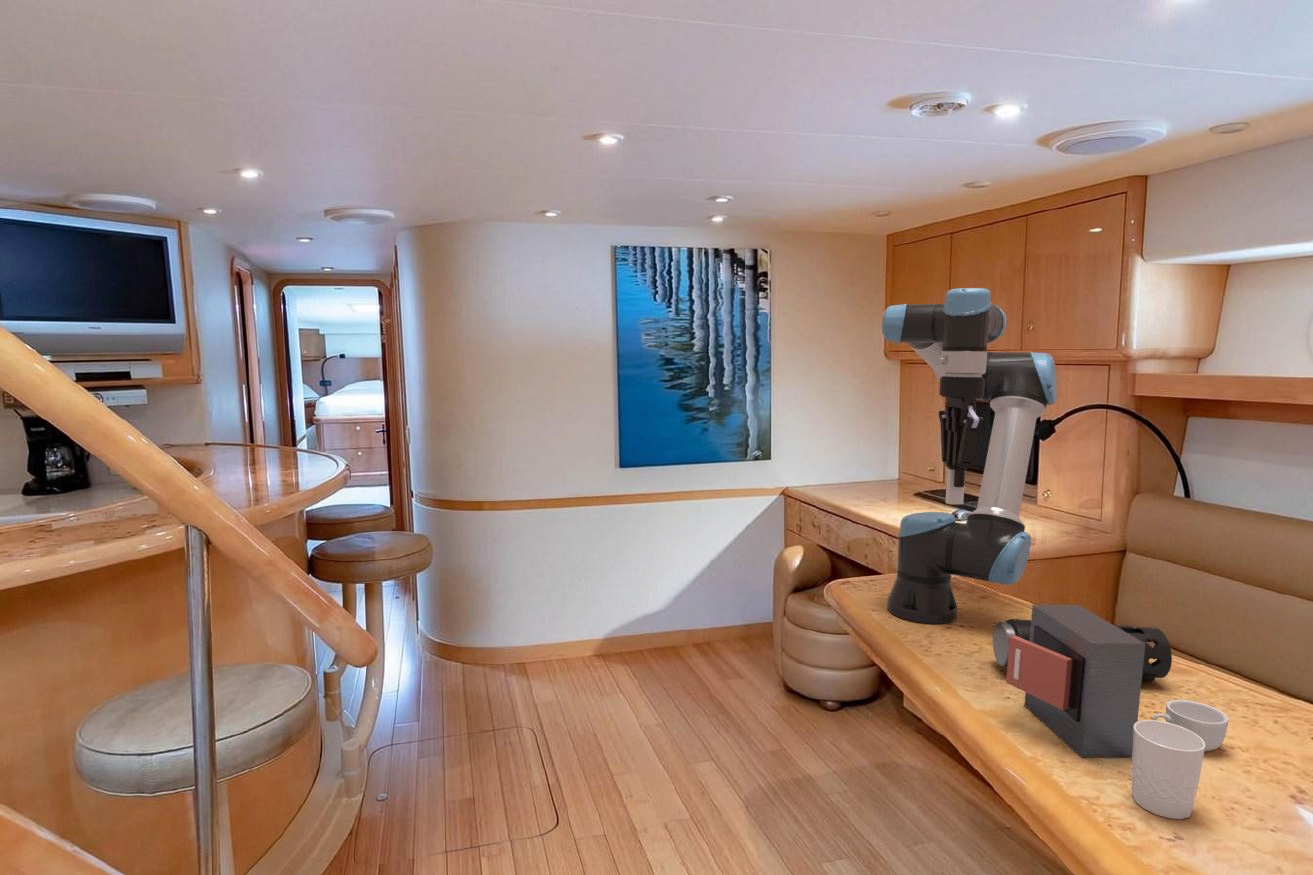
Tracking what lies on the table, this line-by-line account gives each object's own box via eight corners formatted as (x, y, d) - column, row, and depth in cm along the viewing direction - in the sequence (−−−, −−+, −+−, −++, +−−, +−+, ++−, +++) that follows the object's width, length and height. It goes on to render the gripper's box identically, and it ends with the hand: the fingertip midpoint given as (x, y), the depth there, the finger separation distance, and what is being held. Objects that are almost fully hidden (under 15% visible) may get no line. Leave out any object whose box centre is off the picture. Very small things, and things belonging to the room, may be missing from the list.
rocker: (1005, 682, 121) (1008, 636, 120) (1011, 681, 121) (1014, 635, 120) (1061, 710, 112) (1066, 660, 111) (1067, 708, 112) (1072, 658, 111)
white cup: (1113, 787, 102) (1119, 720, 101) (1165, 785, 103) (1173, 718, 102) (1156, 824, 94) (1163, 752, 93) (1212, 821, 95) (1221, 749, 94)
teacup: (1206, 733, 117) (1209, 701, 116) (1236, 759, 110) (1240, 726, 109) (1138, 727, 119) (1141, 696, 118) (1163, 753, 111) (1167, 720, 110)
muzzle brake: (1169, 693, 131) (1175, 638, 129) (1006, 683, 134) (1010, 629, 132) (1141, 670, 140) (1146, 618, 139) (989, 661, 143) (992, 610, 142)
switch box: (1022, 705, 125) (1030, 605, 123) (1069, 705, 126) (1078, 604, 123) (1080, 758, 109) (1090, 643, 107) (1133, 757, 110) (1145, 643, 107)
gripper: (927, 373, 138) (920, 496, 141) (958, 376, 125) (949, 511, 128) (966, 374, 138) (958, 496, 141) (1001, 377, 125) (991, 511, 128)
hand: (954, 503), depth 135 cm, fingers closed
